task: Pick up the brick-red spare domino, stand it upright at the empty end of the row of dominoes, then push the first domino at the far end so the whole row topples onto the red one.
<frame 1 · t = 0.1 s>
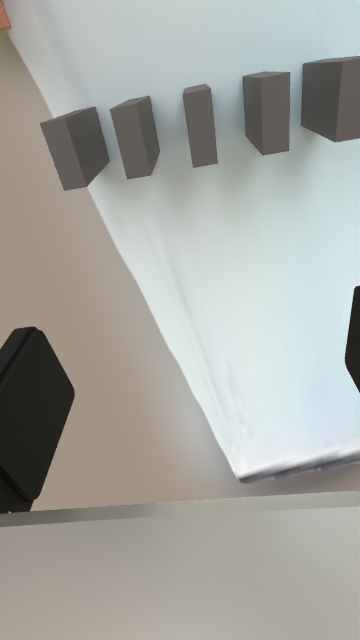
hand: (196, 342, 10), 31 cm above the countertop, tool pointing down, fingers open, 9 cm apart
domino 1: (312, 93, 32), on the countertop
domino 4: (145, 126, 34), on the countertop
domino 2: (254, 105, 33), on the countertop
domino 5: (93, 136, 35), on the countertop
domino 3: (198, 116, 34), on the countertop
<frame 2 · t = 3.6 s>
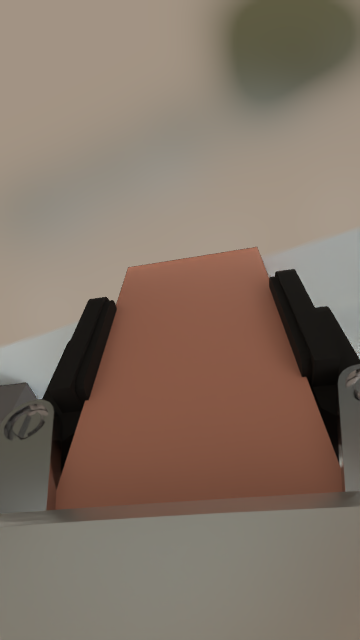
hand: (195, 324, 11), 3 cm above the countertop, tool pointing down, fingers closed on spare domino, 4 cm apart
spare domino: (195, 279, 13), on the countertop, touching gripper
when the fingers open (4 cm above the countertop, at t = 9.5 s): spare domino stays where it is, on the countertop.
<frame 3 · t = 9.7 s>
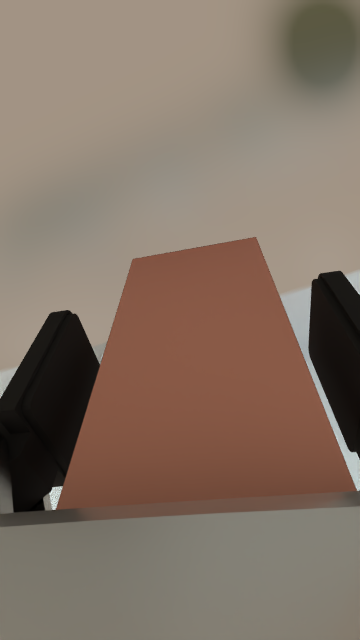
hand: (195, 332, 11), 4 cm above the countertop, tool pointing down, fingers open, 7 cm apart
spare domino: (197, 270, 14), on the countertop
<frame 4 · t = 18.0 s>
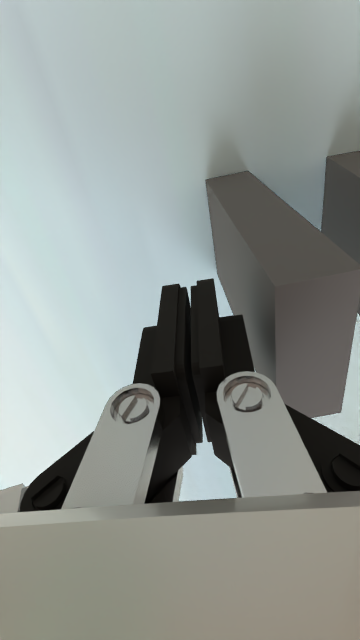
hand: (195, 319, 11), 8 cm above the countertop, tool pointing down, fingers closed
domino 1: (231, 226, 17), on the countertop, tilted 7°
domino 2: (343, 208, 16), on the countertop
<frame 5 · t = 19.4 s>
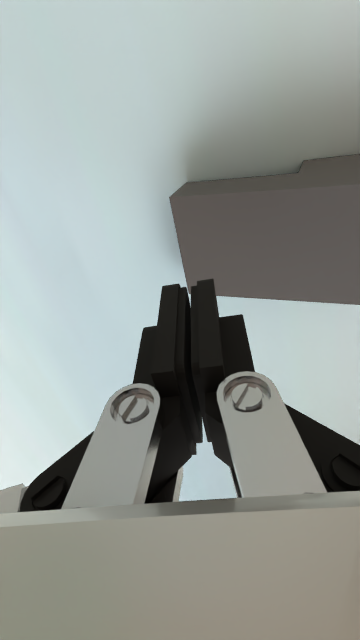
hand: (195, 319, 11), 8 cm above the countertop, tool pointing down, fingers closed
domino 1: (187, 240, 17), point 1 cm above the countertop, tilted 69°
domino 2: (300, 222, 16), point 1 cm above the countertop, tilted 69°, touching domino 3
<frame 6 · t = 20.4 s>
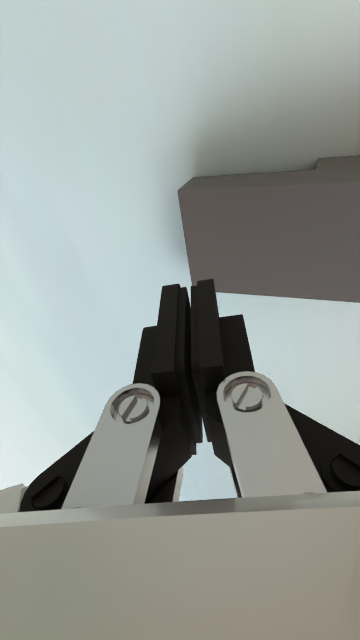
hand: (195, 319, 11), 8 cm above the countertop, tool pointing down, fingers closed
domino 1: (193, 236, 17), point 1 cm above the countertop, tilted 70°, touching domino 2
domino 2: (311, 220, 16), point 1 cm above the countertop, tilted 70°, touching domino 1, domino 3
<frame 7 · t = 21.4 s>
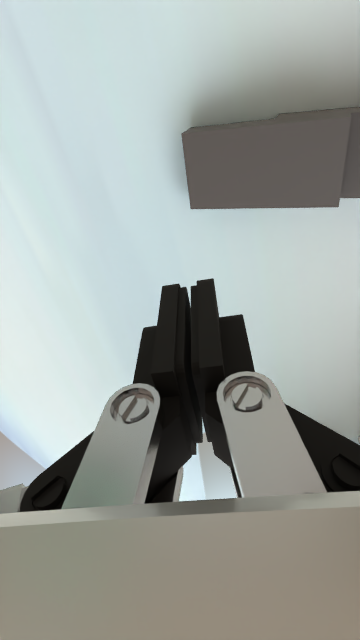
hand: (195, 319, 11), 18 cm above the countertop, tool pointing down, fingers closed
domino 1: (191, 169, 24), point 1 cm above the countertop, tilted 71°, touching domino 2
domino 2: (275, 157, 24), point 1 cm above the countertop, tilted 70°, touching domino 1, domino 3
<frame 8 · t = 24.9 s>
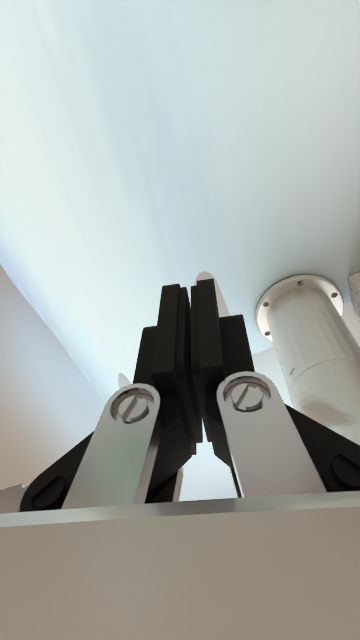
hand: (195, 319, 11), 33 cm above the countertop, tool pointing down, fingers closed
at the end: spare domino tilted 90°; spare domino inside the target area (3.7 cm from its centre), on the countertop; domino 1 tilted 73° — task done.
